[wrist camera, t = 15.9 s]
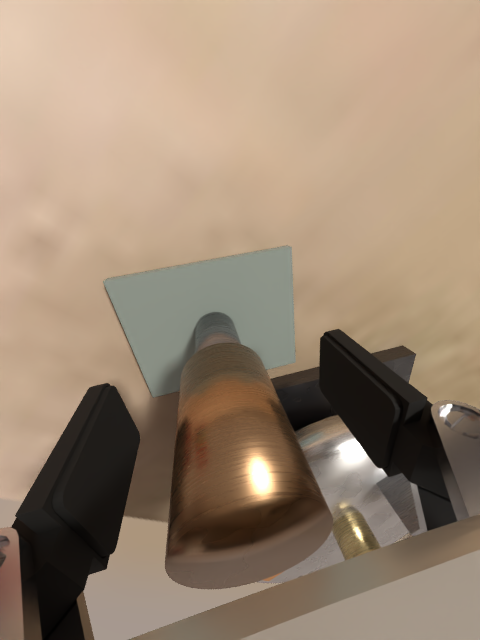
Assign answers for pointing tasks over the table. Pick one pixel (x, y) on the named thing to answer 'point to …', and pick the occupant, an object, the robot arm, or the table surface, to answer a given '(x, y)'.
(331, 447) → the chuck disc
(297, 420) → the chuck stand
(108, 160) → the table surface
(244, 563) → the copper bullet
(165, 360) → the mat
